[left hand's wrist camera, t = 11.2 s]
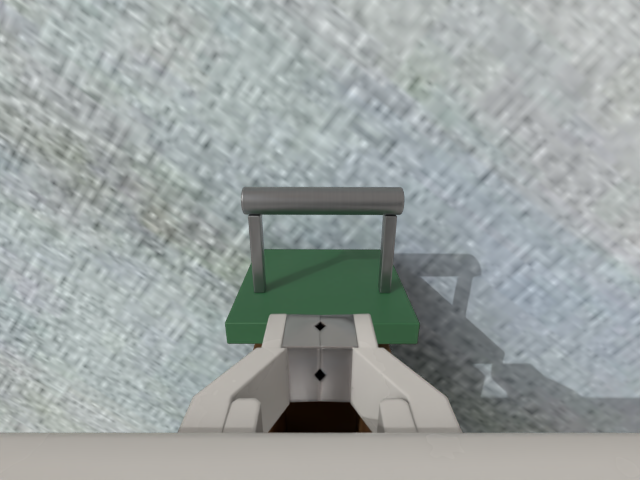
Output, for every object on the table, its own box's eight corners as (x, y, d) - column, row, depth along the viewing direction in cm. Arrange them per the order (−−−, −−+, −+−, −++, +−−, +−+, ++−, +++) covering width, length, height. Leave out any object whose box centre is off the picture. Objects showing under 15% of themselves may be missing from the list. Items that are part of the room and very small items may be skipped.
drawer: (251, 166, 22) (210, 203, 14) (393, 167, 22) (435, 204, 14) (270, 437, 31) (251, 558, 23) (371, 437, 31) (390, 558, 23)
